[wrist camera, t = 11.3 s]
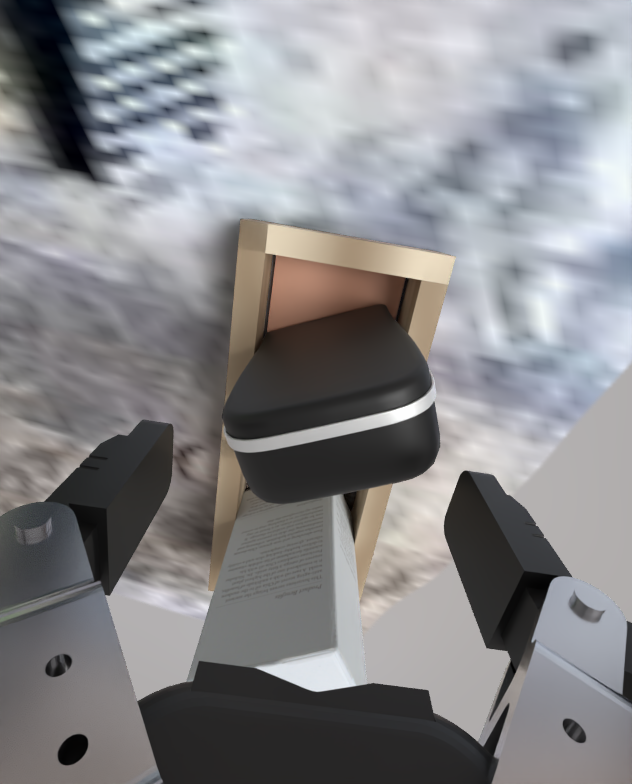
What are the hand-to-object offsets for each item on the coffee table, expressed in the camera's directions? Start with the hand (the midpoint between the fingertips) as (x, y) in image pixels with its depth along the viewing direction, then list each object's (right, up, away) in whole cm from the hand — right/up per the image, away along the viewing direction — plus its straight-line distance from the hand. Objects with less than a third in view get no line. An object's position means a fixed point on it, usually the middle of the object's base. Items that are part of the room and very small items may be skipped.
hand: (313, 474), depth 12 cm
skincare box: (-1, -5, +15) cm, 16 cm away
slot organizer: (0, 0, +13) cm, 13 cm away
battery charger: (+1, +5, +11) cm, 12 cm away
